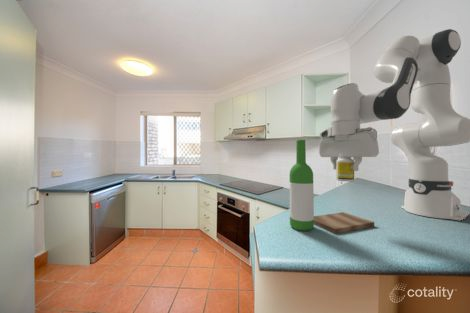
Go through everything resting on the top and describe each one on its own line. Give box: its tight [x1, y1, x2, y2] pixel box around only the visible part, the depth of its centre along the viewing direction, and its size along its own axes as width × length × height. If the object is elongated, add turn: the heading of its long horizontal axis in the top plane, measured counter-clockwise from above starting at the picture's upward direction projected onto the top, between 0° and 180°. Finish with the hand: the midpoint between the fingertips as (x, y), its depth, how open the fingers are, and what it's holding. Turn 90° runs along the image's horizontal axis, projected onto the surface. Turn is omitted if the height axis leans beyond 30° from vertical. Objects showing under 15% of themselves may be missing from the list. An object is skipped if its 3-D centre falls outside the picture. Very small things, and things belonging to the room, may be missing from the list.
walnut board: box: [314, 211, 375, 235], centre depth 65 cm, size 18×12×2 cm, turn 109°
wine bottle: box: [289, 139, 315, 232], centre depth 62 cm, size 8×8×30 cm
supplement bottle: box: [335, 153, 355, 182], centre depth 64 cm, size 5×5×10 cm
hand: (345, 170), depth 64 cm, fingers closed on supplement bottle, 5 cm apart
